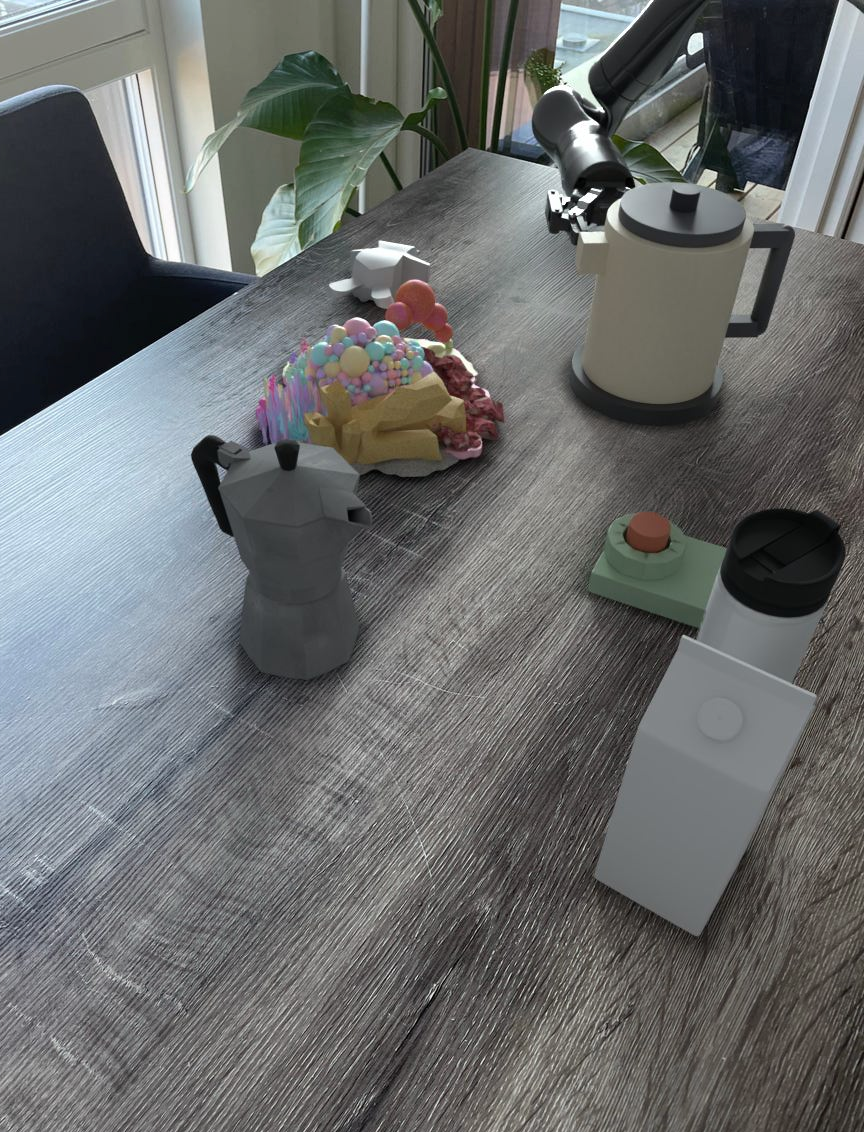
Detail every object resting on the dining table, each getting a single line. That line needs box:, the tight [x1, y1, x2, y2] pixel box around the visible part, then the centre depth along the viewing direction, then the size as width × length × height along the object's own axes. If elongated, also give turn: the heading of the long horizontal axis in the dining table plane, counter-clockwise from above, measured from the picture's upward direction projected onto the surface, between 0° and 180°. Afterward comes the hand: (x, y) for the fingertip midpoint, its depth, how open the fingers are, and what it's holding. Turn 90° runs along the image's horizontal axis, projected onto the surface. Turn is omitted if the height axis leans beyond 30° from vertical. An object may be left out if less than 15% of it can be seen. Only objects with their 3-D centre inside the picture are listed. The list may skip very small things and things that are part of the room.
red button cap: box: [626, 511, 671, 553], centre depth 82 cm, size 3×3×2 cm
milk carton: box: [593, 634, 818, 937], centre depth 59 cm, size 7×7×19 cm
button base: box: [587, 513, 727, 629], centre depth 82 cm, size 14×8×4 cm, turn 63°
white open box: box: [324, 240, 431, 310], centre depth 115 cm, size 10×5×15 cm
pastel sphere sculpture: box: [255, 280, 505, 478], centre depth 98 cm, size 25×24×9 cm
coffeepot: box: [190, 434, 373, 681], centre depth 73 cm, size 15×9×18 cm, turn 54°
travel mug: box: [695, 507, 847, 684], centre depth 65 cm, size 6×7×20 cm
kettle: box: [569, 181, 796, 427], centre depth 98 cm, size 16×20×20 cm
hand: (623, 241), depth 111 cm, fingers open, 8 cm apart
